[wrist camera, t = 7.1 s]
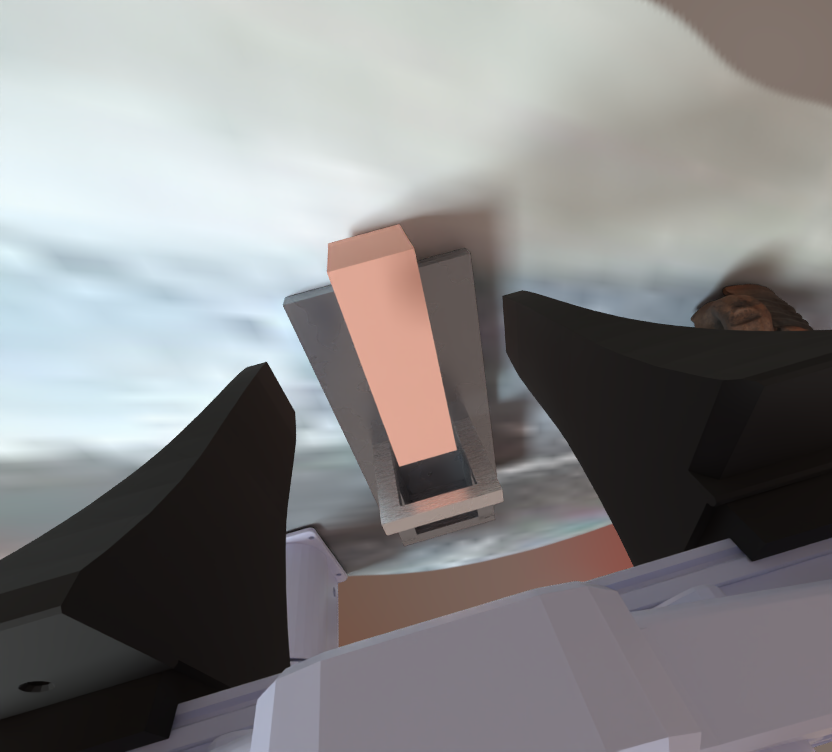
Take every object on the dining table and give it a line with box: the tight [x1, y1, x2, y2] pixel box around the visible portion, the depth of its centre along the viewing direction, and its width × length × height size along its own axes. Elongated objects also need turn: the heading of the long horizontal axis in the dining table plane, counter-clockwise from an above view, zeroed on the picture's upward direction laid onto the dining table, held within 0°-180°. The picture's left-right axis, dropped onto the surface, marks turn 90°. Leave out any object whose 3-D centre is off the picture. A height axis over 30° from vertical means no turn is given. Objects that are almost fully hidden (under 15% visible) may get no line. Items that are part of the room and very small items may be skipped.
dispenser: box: [283, 248, 503, 546], centre depth 22 cm, size 19×10×7 cm, turn 12°
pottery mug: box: [691, 284, 813, 331], centre depth 25 cm, size 12×9×8 cm
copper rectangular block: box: [327, 224, 457, 467], centre depth 19 cm, size 12×4×4 cm, turn 12°
